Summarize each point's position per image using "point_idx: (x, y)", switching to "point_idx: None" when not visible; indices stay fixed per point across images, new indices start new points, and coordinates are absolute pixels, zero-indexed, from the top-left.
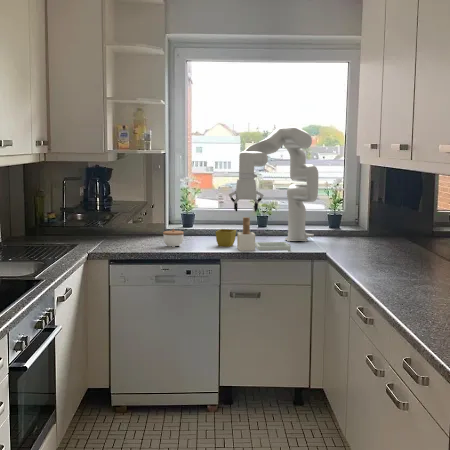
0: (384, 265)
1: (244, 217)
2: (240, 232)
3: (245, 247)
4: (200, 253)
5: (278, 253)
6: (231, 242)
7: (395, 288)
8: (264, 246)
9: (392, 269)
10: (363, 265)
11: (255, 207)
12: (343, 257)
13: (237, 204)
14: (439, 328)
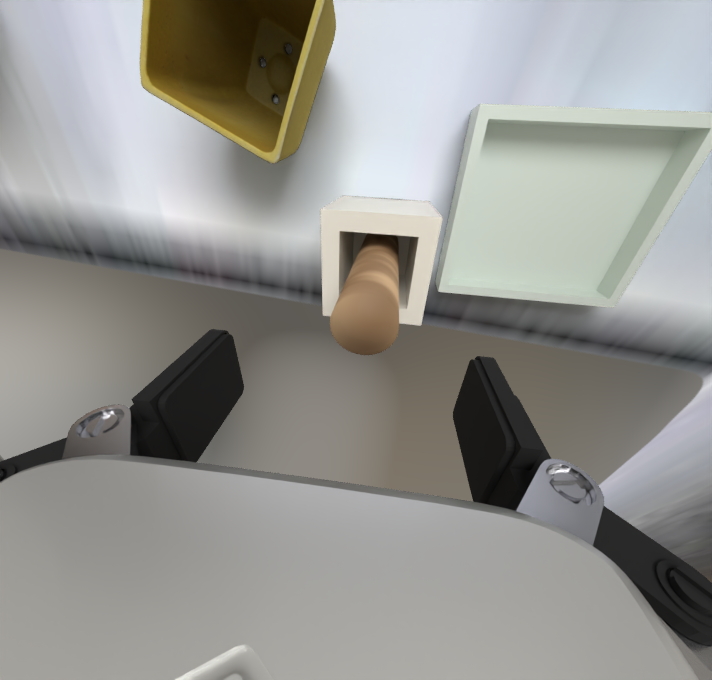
0: (685, 532)
1: (345, 320)
2: (342, 219)
3: None
4: (178, 270)
5: (507, 328)
6: (305, 125)
7: None
8: (467, 293)
9: None
10: (629, 521)
11: (465, 454)
12: (697, 442)
13: (199, 456)
14: None
